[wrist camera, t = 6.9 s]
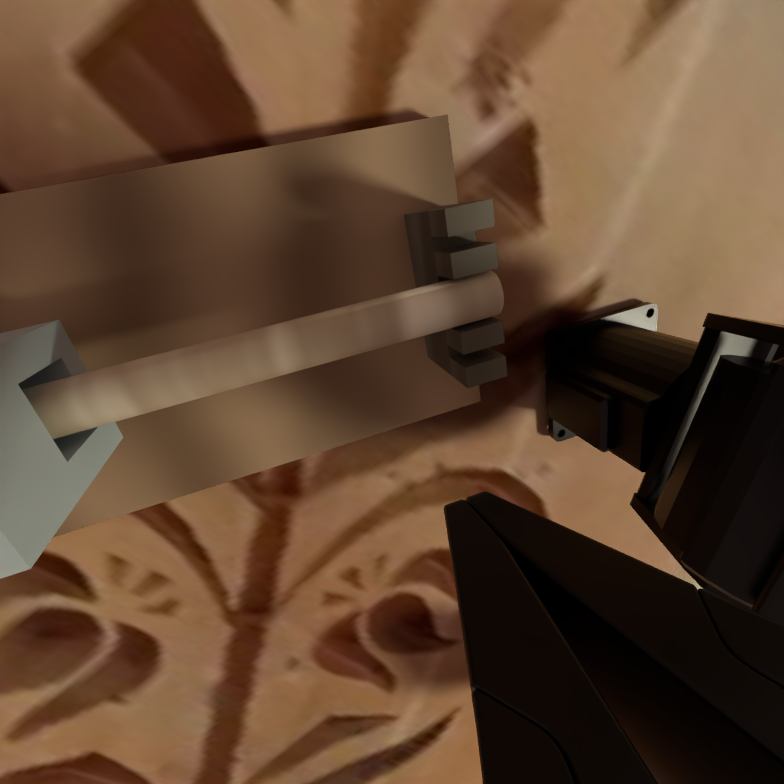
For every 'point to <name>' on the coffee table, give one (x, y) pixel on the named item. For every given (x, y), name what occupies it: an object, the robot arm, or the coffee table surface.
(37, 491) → the sleeve
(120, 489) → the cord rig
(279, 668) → the coffee table surface
